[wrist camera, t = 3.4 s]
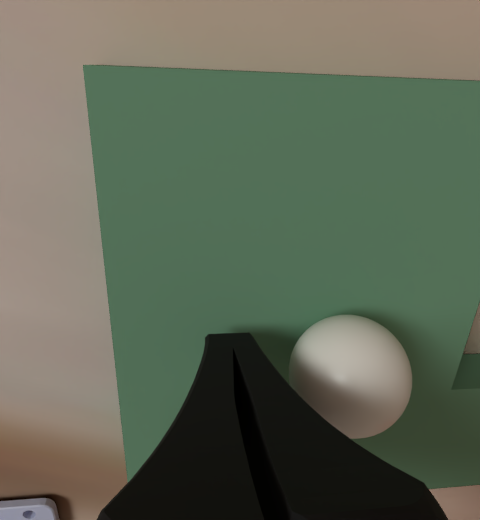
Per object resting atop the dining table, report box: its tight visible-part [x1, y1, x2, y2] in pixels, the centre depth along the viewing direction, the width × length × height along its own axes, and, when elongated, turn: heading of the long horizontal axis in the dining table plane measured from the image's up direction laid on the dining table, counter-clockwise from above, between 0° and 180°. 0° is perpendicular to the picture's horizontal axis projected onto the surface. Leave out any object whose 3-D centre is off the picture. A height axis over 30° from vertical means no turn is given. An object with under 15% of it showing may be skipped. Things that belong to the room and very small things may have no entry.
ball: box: [289, 315, 412, 439], centre depth 12 cm, size 4×4×4 cm
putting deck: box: [83, 65, 480, 489], centre depth 15 cm, size 19×16×2 cm
